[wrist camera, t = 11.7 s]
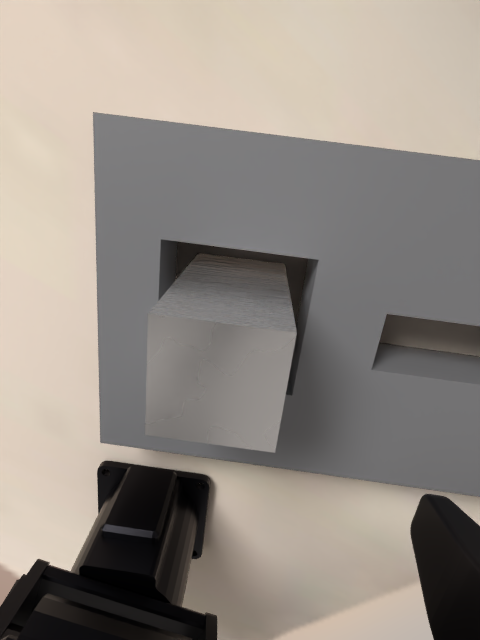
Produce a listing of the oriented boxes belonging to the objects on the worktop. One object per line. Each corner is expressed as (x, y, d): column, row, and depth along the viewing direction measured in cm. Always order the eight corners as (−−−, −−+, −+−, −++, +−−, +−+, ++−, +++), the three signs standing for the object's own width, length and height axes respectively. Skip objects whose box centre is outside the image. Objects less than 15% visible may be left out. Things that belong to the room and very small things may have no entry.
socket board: (489, 457, 21) (523, 502, 18) (122, 406, 21) (100, 442, 18) (613, 183, 15) (689, 186, 13) (123, 122, 16) (93, 112, 13)
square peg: (272, 342, 19) (275, 452, 12) (192, 332, 19) (145, 434, 12) (284, 263, 18) (296, 332, 10) (198, 252, 18) (148, 313, 10)
